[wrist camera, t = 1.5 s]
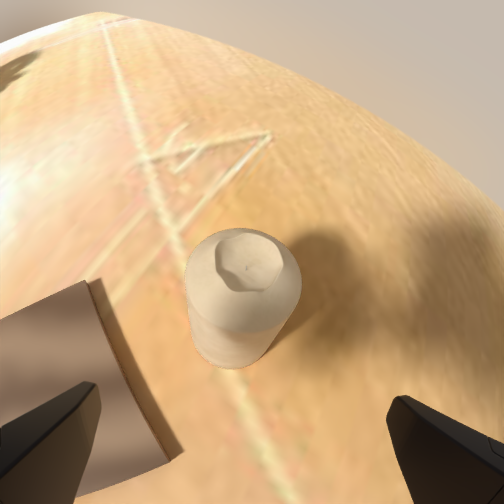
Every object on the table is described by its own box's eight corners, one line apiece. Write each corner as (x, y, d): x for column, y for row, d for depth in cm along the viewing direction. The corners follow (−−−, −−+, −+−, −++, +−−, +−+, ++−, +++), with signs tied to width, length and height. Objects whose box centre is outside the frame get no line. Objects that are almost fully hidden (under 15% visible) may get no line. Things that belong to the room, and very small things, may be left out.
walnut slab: (170, 460, 17) (169, 462, 16) (13, 512, 12) (7, 514, 11) (88, 285, 22) (84, 279, 22) (-41, 348, 17) (-48, 344, 16)
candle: (242, 385, 20) (269, 348, 12) (175, 339, 21) (156, 271, 13) (283, 323, 23) (330, 250, 15) (220, 282, 24) (232, 191, 16)
